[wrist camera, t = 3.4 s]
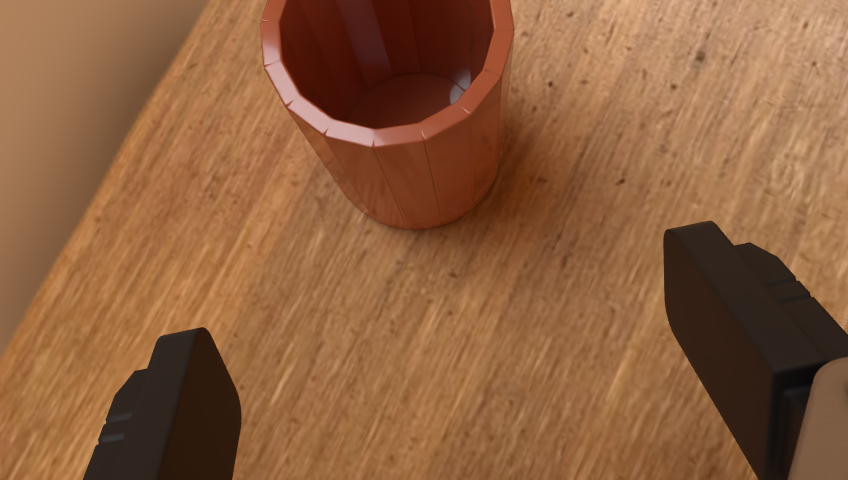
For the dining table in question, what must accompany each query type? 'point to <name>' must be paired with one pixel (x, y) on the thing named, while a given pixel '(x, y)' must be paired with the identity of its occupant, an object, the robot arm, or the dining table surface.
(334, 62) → the pot
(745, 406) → the robot arm
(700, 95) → the dining table surface
